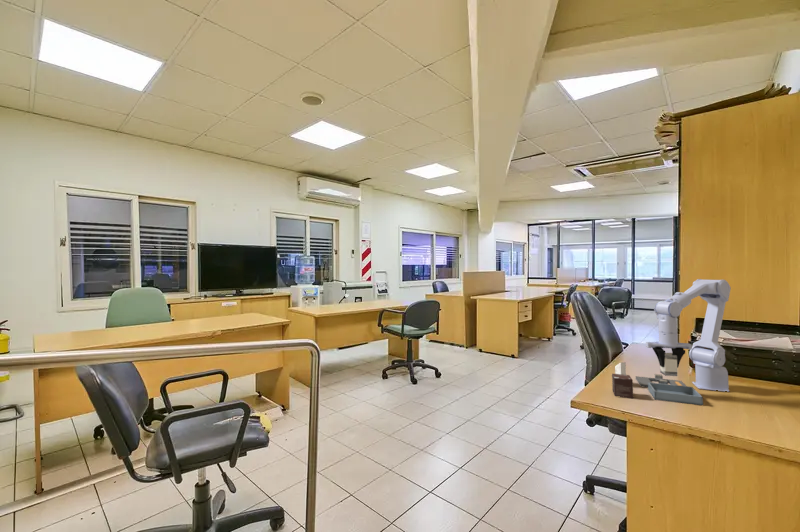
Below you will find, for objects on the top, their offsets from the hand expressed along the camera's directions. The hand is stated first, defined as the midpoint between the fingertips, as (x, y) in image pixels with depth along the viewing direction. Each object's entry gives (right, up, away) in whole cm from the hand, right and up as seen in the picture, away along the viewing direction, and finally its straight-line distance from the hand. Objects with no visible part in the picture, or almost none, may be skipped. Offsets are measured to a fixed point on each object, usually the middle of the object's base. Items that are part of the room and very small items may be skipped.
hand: (668, 366), depth 131 cm
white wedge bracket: (-10, -11, +11) cm, 19 cm away
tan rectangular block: (0, -3, 0) cm, 3 cm away
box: (-18, -11, 0) cm, 22 cm away
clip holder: (+4, -10, +9) cm, 14 cm away
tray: (-1, -11, -4) cm, 11 cm away
